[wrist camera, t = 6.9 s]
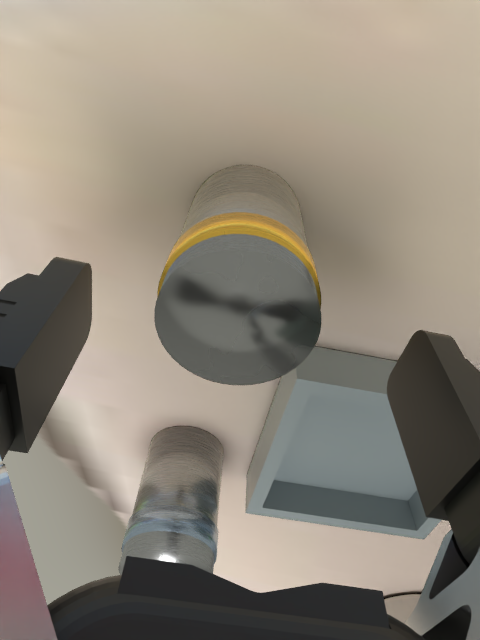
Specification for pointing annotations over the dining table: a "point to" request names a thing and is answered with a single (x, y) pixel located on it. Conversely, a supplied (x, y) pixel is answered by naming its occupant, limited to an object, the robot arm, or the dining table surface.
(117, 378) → the dining table surface
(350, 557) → the dining table surface
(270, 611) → the robot arm
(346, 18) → the dining table surface
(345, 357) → the tray
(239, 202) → the grey gold-banded metal jar
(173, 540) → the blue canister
